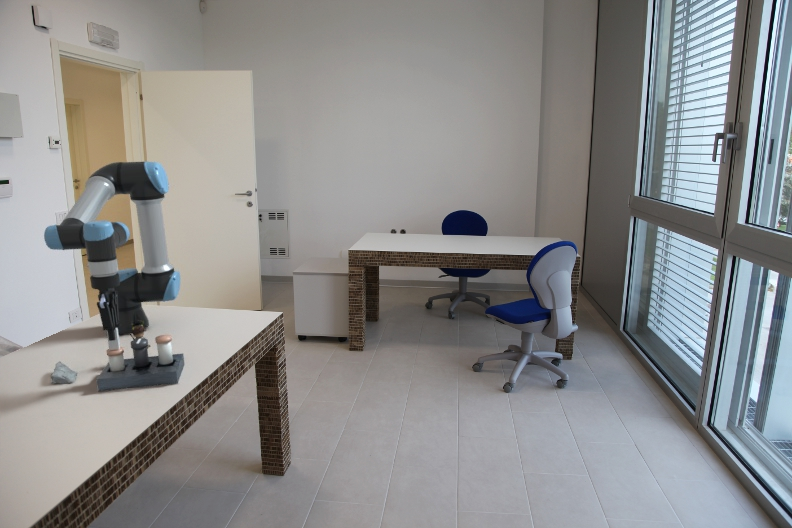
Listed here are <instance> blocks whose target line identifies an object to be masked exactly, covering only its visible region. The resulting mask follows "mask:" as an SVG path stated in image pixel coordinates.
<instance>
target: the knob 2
mask: <svg viewBox="0 0 792 528" xmlns="http://www.w3.org/2000/svg"><path fill="white" fill-rule="evenodd" d="M172 340H173V339H172V335H171V334H160V335H158V336H156V337H155V338H154V341H155V344H156V346H157V356H158V357H159V364H163V365H164V364H169V363H172V362H173V356H172V355H173V348H172Z"/></svg>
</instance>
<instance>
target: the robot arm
mask: <svg viewBox="0 0 792 528" xmlns="http://www.w3.org/2000/svg"><path fill="white" fill-rule="evenodd" d="M167 175H168V174H167V173H166V170H165V168H164V166H163V165H162V164H161V163H159V162H158V161H147V160H146V161H123V162H121V161H117V162H111V163H109V164H106V165H104V166H102V167H100V168H99V169H97V170H95V172H93V173H92V174H91V175H89V176H88V178H87V180H86V182H85V184H84V188H85V189H84V190H83V191H82V193H81V194H80V196H79V197H78V198H77V200H76V201H75V202H74V204H73V205H72V207H71V209H70V210H69V212H68V213H67V214H66V216H65V217H64V219H63V220H62V221H61V223H60V224H54V225H52V224H51V225H48V226H46V228H45V230H44V234H43V237H44V238H43V239H44V242H45V245H46V246H47V248H49V249H50V250H53V251H54V250H55V251H56V250H59V251H61V250H62V251H67V250H83V249H84V250H85V251H86V258H87V264H86V267H88V272H89V274H90V277H89V279H90V286H91V288H92V290H98V294H97V299H98V301H97V302H96V307H97V308H98V312H99V316H100V320H101V324H102V327H103V328H102V331H106V336H107V337H106V338H107V344H108V349H109V350H118V349H120V347H121V344H120V342H121V341H120V335H128V334H129V335H130V334H132V332H131V331H132V329H133V327H134V326H137V324H139V325H143V327H144V328H146V329H148V328H149V326H150V322H149V318H148V316H147V314H146V312H145V311H144V308H143V305H142V304H143V303H154V302H155V303H159V302H162V303H163V302H170V301H175V300H176V299H177V298H178V295H179V294H180V293H179V292H180V289H181V273H180V272H179V271H178V270H175V267H174V265H173V264H171V263H170V262H169V255H168V247H167V245H168V244H167V237H166V230H165V224H164V216H163V207H162V202H163V201H164V199H165V197H166V196H165V194H167V193H168V192H169V189H170V188H169V179H168V176H167ZM117 195H129V197H130V201H131V202H133V203H134V204H135V207H136V213H137V220H138V227H139V234H140V241H141V248H142V254H143V262H144V265H143V267H141V270H140V271H141V272H139V270H138V269H137V268H134V267H133V268H126V269H125V268H124V269H119V265H118V264H119V263H118V258H117V250H116V249H117V248H120V247H121V246H123V245H124V244H126V243H127V242H128V240H129V239H130V229H129V227H128V226H127V224H124V223H123V222H120V221H109V220H97V218H98V216H99V215H100V213H101V211H102V209H103V208H104V206H105V205H106V203H107V202H108V201H109V200H111V199H113V198H114V196H117ZM132 321H133V322H132ZM143 321H144V322H143ZM131 322H132V324H131ZM144 325H145V326H144ZM146 326H147V327H146ZM130 328H131V329H130Z"/></svg>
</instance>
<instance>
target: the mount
mask: <svg viewBox="0 0 792 528" xmlns="http://www.w3.org/2000/svg"><path fill="white" fill-rule="evenodd" d="M172 356H173V362H172V363H169V364H164V365H163V364H159V357H158V355H154V356H153V355H152V356H148V358H149V364H148V365H146V366H143V367H136V366H135V362H134V357H131V358H124V363H125V371H115V372H111V371H110V364H109V361H108V362H107V364H106V366H105V367H104V368H103V369H102V371H101V372H100V374H99V375H98V377H97V378H96V384H97V391H98V393H101V392H109V391H119V390H127V389H129V390H130V389H138V388H146V387H148V388H149V387H154V386H155V387H156V386H166V385H176V384H178V383H179V381H180V378H181V376H182V372H183V370H184V367H185V356H184V353H176V354H175V353H174V354H173V353H172Z"/></svg>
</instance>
